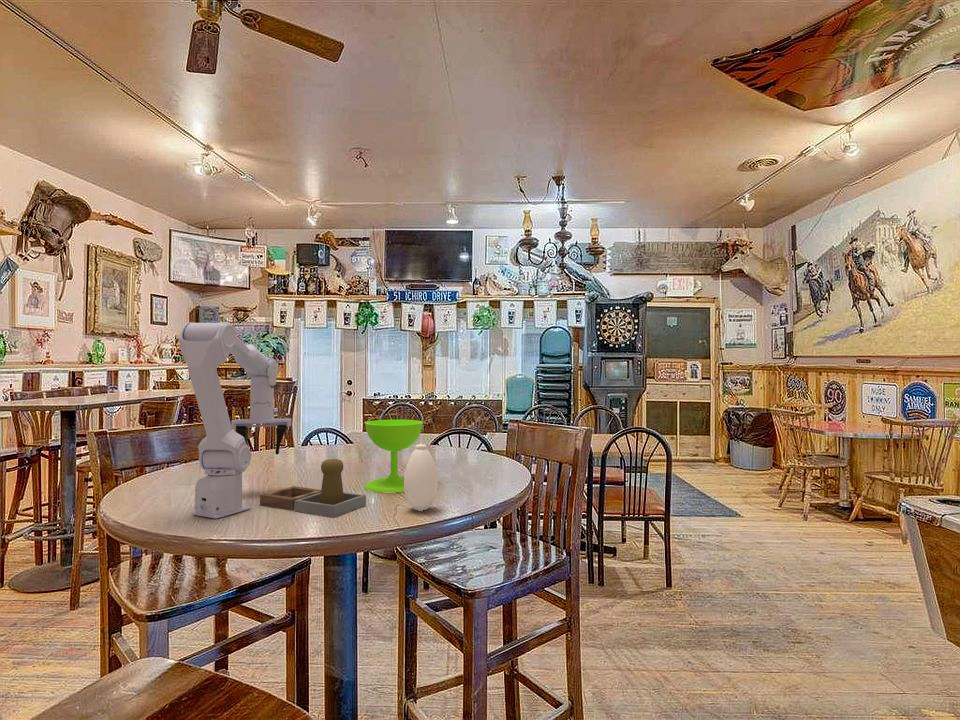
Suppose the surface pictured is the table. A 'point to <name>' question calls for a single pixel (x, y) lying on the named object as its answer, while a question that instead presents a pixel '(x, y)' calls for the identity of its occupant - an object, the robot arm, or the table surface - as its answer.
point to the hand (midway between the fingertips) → (261, 454)
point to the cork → (332, 482)
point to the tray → (314, 507)
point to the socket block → (286, 497)
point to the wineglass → (392, 448)
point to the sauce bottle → (421, 478)
